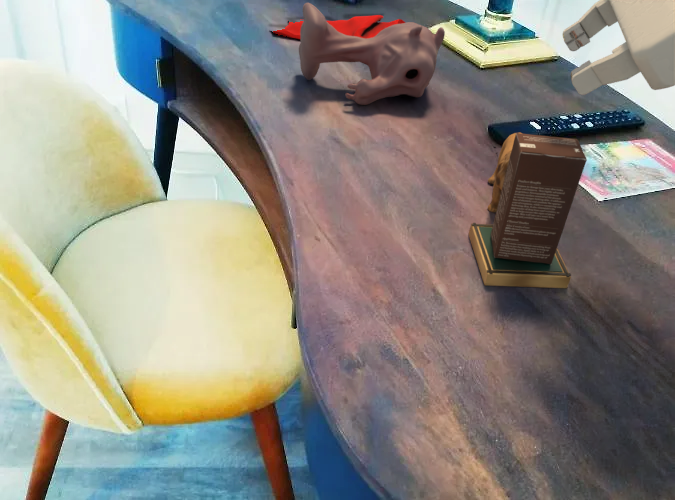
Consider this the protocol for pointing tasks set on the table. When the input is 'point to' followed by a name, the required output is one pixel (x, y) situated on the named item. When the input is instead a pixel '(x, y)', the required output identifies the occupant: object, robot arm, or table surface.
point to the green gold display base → (514, 265)
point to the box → (536, 197)
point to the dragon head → (372, 56)
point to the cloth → (346, 27)
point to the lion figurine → (500, 172)
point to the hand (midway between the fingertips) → (570, 62)
